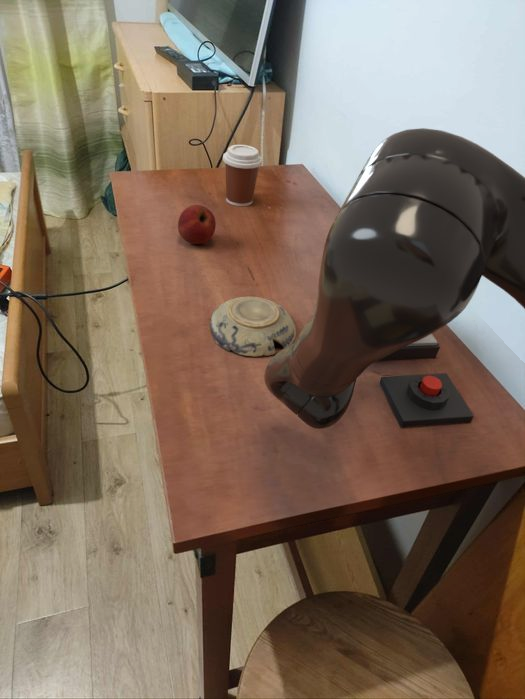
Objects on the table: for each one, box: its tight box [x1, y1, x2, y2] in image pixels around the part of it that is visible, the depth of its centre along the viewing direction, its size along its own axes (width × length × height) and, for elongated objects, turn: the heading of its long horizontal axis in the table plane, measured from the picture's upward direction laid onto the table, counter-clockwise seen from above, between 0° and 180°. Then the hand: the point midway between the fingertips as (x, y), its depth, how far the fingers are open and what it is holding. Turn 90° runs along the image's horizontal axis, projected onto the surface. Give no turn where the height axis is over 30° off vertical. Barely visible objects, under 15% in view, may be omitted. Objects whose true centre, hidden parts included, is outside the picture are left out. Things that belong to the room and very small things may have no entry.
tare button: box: [420, 376, 442, 396], centre depth 74 cm, size 3×3×2 cm
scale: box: [376, 333, 441, 362], centre depth 87 cm, size 13×13×3 cm
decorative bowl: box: [209, 295, 297, 358], centre depth 84 cm, size 15×4×15 cm
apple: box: [177, 204, 217, 245], centre depth 103 cm, size 7×8×8 cm
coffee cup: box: [222, 144, 263, 207], centre depth 119 cm, size 9×9×12 cm
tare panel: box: [378, 372, 475, 428], centre depth 75 cm, size 11×9×3 cm
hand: (408, 275), depth 82 cm, fingers closed on cup, 6 cm apart
